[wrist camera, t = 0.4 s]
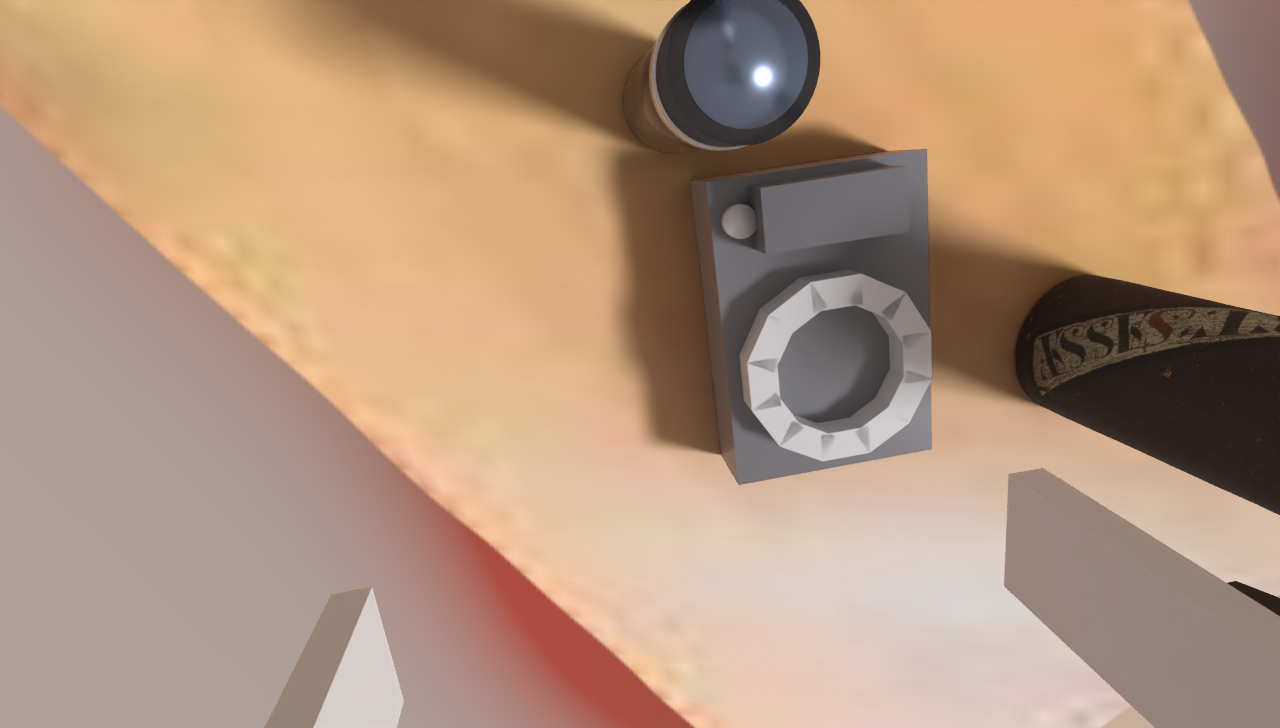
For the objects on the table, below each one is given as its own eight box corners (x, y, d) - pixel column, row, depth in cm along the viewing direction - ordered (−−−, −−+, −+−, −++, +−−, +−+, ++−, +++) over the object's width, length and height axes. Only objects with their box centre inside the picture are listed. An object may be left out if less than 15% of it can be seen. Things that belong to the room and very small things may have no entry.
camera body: (690, 180, 36) (716, 183, 31) (888, 150, 37) (949, 148, 32) (721, 455, 41) (748, 502, 35) (897, 423, 42) (951, 464, 36)
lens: (613, 53, 34) (654, -20, 21) (715, 40, 35) (820, -41, 21) (628, 161, 36) (675, 159, 22) (725, 147, 36) (830, 136, 23)
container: (1130, 249, 41) (1640, 323, 22) (1150, 383, 43) (1619, 553, 24) (995, 304, 41) (1388, 426, 22) (1023, 434, 43) (1395, 646, 24)
